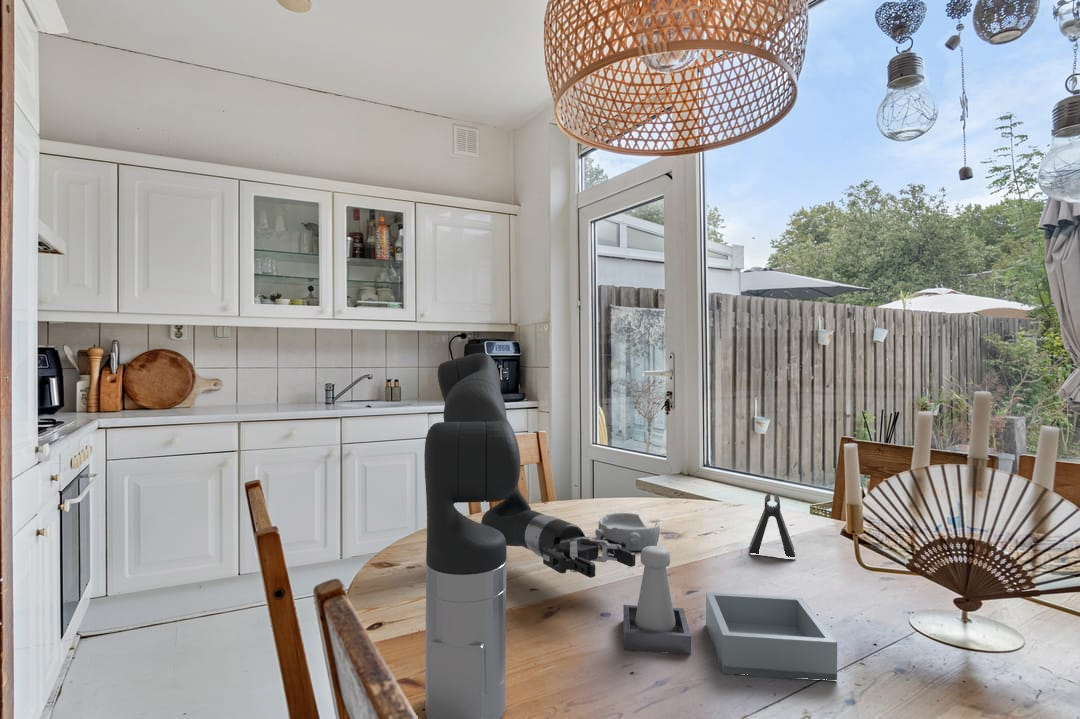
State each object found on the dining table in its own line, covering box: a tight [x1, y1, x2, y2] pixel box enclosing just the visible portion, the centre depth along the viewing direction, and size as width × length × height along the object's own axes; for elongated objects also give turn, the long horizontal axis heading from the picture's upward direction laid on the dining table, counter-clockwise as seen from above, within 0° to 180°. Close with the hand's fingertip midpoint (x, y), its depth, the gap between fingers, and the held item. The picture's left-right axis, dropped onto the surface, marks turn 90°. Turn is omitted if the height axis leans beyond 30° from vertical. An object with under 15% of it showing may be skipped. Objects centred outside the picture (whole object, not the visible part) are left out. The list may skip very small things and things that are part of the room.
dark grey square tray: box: [622, 604, 692, 655], centre depth 85 cm, size 9×9×2 cm
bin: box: [705, 591, 838, 681], centre depth 81 cm, size 14×14×5 cm
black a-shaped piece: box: [748, 492, 796, 557], centre depth 123 cm, size 9×6×12 cm, turn 68°
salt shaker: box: [635, 545, 676, 633], centre depth 85 cm, size 6×6×13 cm
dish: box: [595, 512, 661, 552], centre depth 129 cm, size 14×14×5 cm
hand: (614, 565), depth 93 cm, fingers open, 8 cm apart
